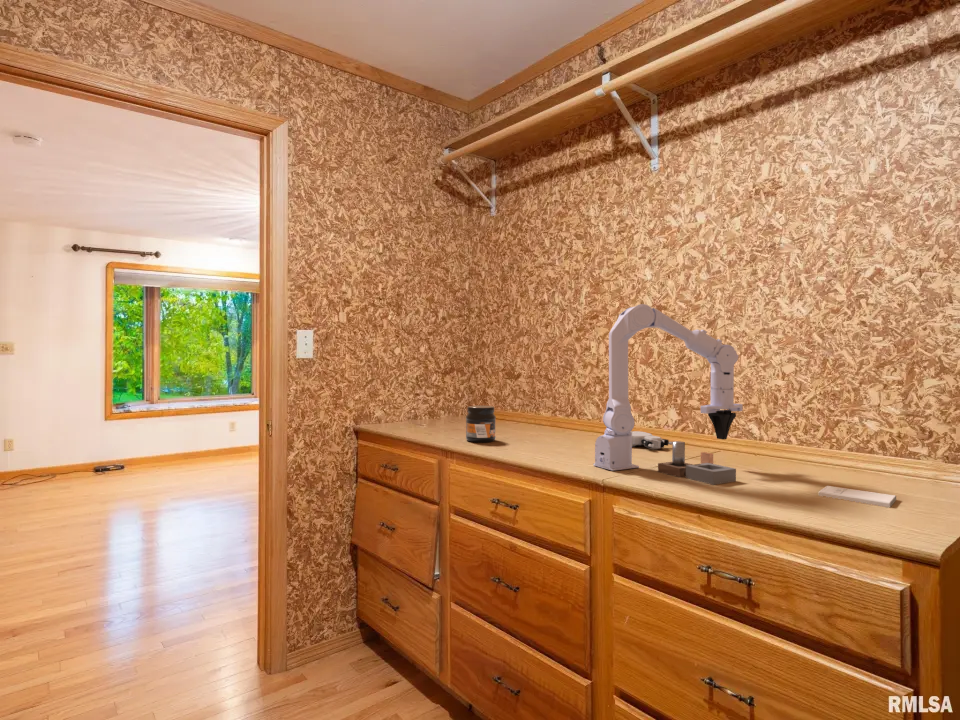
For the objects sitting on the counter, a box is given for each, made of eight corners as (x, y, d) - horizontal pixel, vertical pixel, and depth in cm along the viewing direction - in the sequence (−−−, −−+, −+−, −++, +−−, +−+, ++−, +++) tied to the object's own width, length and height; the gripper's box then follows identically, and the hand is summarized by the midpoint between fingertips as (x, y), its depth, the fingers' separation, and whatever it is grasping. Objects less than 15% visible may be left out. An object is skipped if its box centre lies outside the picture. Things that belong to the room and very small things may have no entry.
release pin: (696, 471, 138) (696, 455, 138) (687, 469, 140) (687, 453, 140) (713, 468, 141) (713, 453, 141) (704, 466, 143) (704, 451, 143)
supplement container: (481, 444, 179) (481, 408, 179) (459, 440, 187) (459, 406, 187) (501, 440, 187) (502, 406, 187) (480, 437, 194) (480, 404, 194)
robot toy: (675, 451, 173) (639, 442, 186) (676, 438, 173) (640, 429, 185) (650, 455, 166) (614, 444, 179) (651, 441, 166) (615, 431, 179)
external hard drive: (889, 510, 106) (818, 498, 115) (896, 502, 112) (827, 491, 121) (889, 502, 106) (818, 490, 115) (896, 495, 112) (827, 484, 121)
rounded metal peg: (678, 474, 134) (679, 443, 134) (669, 472, 137) (669, 441, 137) (687, 473, 136) (687, 442, 136) (677, 471, 139) (678, 440, 138)
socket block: (679, 477, 132) (679, 468, 132) (658, 471, 138) (658, 463, 138) (699, 474, 135) (699, 465, 135) (677, 469, 141) (677, 460, 141)
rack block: (713, 484, 124) (713, 471, 124) (685, 477, 131) (685, 465, 131) (735, 481, 128) (735, 468, 128) (707, 474, 135) (707, 462, 135)
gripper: (716, 390, 137) (716, 443, 137) (752, 388, 144) (752, 439, 144) (694, 388, 143) (693, 439, 143) (729, 387, 150) (729, 435, 150)
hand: (721, 438), depth 144 cm, fingers closed
